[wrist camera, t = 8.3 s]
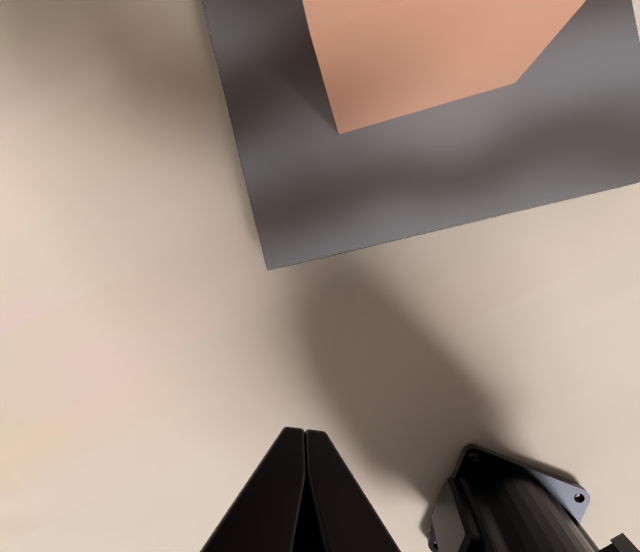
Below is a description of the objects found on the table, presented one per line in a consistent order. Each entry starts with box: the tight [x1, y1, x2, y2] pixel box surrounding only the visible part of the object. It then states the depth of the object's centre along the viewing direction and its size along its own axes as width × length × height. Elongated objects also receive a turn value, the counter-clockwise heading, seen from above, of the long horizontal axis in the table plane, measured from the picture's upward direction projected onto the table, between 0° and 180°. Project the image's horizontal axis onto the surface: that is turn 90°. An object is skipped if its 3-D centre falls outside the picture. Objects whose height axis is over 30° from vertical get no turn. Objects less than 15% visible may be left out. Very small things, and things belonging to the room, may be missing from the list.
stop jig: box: [202, 0, 640, 270], centre depth 13 cm, size 17×18×10 cm
